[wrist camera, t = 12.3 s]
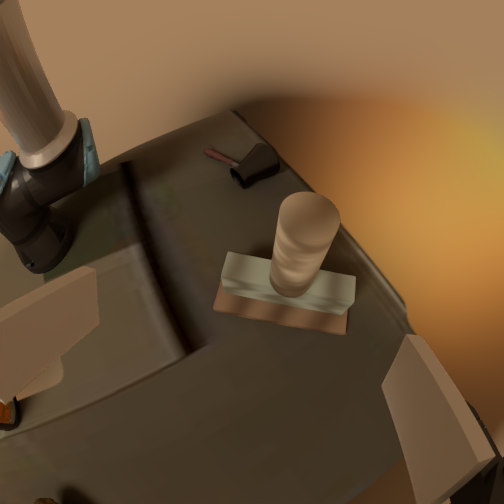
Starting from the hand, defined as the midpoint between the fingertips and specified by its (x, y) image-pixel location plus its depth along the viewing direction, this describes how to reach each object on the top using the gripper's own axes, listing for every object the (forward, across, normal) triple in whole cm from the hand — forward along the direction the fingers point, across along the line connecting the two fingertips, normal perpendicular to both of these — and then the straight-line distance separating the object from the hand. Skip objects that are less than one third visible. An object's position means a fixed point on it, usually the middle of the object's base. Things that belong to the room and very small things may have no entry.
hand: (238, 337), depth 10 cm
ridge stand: (+32, +3, -12) cm, 35 cm away
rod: (+28, +3, -7) cm, 28 cm away
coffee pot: (+53, -11, +8) cm, 55 cm away
